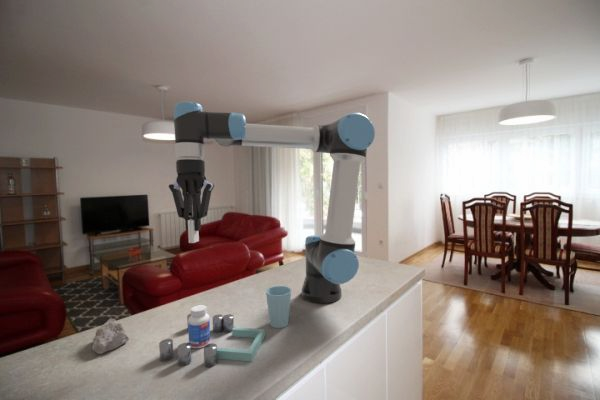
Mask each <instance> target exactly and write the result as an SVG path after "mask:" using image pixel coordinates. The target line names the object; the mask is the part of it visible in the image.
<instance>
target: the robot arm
mask: <svg viewBox="0 0 600 400" xmlns="http://www.w3.org/2000/svg"><path fill="white" fill-rule="evenodd" d="M173 108H174V109H173V110H174V115H173V127H174V143H175V158H176V159H177V160H176V161H175V164H176V165H175V168H176V174H177V177H176V179H175V182H174V183H171V184H169V185H168V188H169V190H170V191H171V194H172V197H173V201H174V204H175V209H176V212H177V216H178V218H182V219H184V221H185V222H184V223H185V231H186V232H187V233H188V235H187V236H188V237H187V238H188V243H189V244H195V243H197V242H200V235H199V231H201V229H202V223H201V220H202V219H203V218H205V217H207V216H208V212H209V205H210V201H211V195H212V191H213V190H214V188H215V184H214V183H210V182H209V181H208V180H207V177H206V176H205V173H206V169H205V167H206V165H205V164H206V163H205V161H204V160H203V159H204V158H205V146H204V145H205V143H204V140H215V142H216V143H217V144H218V145H220V146H222V147H226V148H228V147H232V146H235V147H236V146H237V147H238V146H242V147H243V146H245V147H264V148H281V149H283V148H285V149H303V150H304V149H305V150H311V151H312V152H313V153H325V154H329V157H330V158H331V159H332V160H333V164H332V171H331V172H332V174H331V181H330V182H331V183H330V191H329V200H328V208H327V215H326V216H327V217H326V223H325V225H326V226H325V232H324V234H317V235H316V234H313V235H308V236H306V237H305V243H304V249H305V277H304V280H303V282H302V287H301V297H302V298H303V299H304V300H305V301H308V302H311V303H315V304H330V303H334V302H337V301H339V300H340V299H341V298H342V295H343V293H342V287H341V285H344V284H346V283H348V282H350V281H351V280H352V279H354V278H355V276H356V275H357V273H358V270H359V266H360V261H359V258H358V256H357V254H356V253H355V250H356V241H355V239H354V238H353V237H352V236H353V235H352V233H353V224H354V217H355V207H356V202H357V195H358V194H357V192H358V186H359V185H358V183H359V175H360V169H361V168H360V167H361V164H362V162H364V161H365V160H366V158H367V150H368V148H369V147H370V146H371V145H372V144H373V143H374V139H375V135H376V131H375V126H374V124H373V122H372V121H371V120H370V119H369V117H367V115H365V114H362V113H360V112H352V113H348V114H345V115H342V116H341V118H338V119H337V120H335V121H333V122H331V123H328V124H322V125H321V124H314V125H313V126H312V127H308V126H307V127H306V126H293V125H275V124H274V125H272V124H261V123H260V124H259V123H247V121H246V120H247V119H246V116H245V115H244V113H237V112H233V111H232V112H218V111H216V112H215V111H213V112H212V111H204V109H203V106H202V105H201V104H200V103H198V102H194V101H193V102H192V101H180V102H177V103H176V104H175V105H174V107H173ZM202 189H203V191H202ZM201 196H202V197H201Z"/></svg>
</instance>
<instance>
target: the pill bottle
mask: <svg viewBox="0 0 600 400" xmlns="http://www.w3.org/2000/svg"><path fill="white" fill-rule="evenodd" d="M207 311H208V309H207V306H206V305H204V304H198V305H195V306H192V307H191V308H190V314H191V316H190V317H189V319H188V324H187V332H188V343H190V344H191V349H201V348H204V347H205V346H206V345H208V344H210V342H211V328H210V327H211V326H210V324H211V323H210V315H209V314H208V313H207Z"/></svg>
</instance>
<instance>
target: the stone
mask: <svg viewBox="0 0 600 400" xmlns="http://www.w3.org/2000/svg"><path fill="white" fill-rule="evenodd" d="M123 327H124V326H123V325H122V323H117V321H116V319H115V318H113V317H112V318H111V317H110V318H109V319H107V321H106V322H105V323H104V324H102V325H101V326H100V327H98V328H97V329H96V332H95V336H94V337H93V339H92V346H91V350H93V351H94V353H96V354H97V355H101V354H104V353H106V352H110V351H113V350H116V349H117V348H119V347H120V346H122V345H124V344H125V343H127V342H129V340H130V337H129V336H128V334H127V333H126V332H125V328H123Z"/></svg>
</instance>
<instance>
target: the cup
mask: <svg viewBox="0 0 600 400" xmlns="http://www.w3.org/2000/svg"><path fill="white" fill-rule="evenodd" d="M265 295H266V303H267V304H266V305H267V310H268V318H269V323H270V327H272V328H275V329H283V328H285V327H287V326H288V325H289V318H290V309H291V308H290V307H291V299H292V298H291V297H292V289H291V288H290V287H289V286H285V285H275V286H271V287H269V288H267V289H266V290H265Z"/></svg>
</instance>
